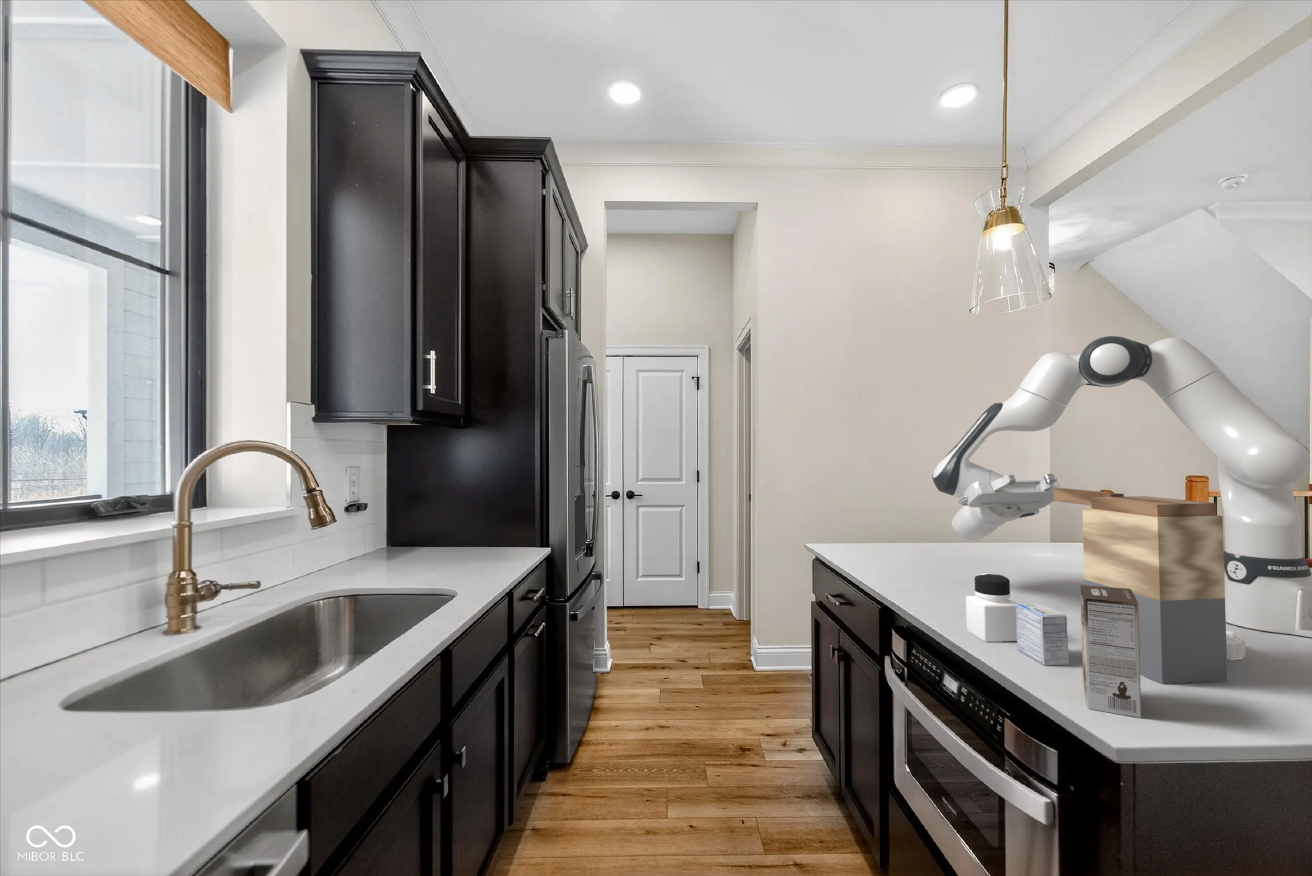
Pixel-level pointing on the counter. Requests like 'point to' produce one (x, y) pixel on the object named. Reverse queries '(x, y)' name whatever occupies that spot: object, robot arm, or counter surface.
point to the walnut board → (1135, 503)
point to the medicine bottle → (991, 609)
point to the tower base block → (1181, 639)
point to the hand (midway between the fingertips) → (1032, 477)
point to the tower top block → (1155, 554)
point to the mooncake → (1234, 645)
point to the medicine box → (1042, 633)
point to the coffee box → (1111, 650)
